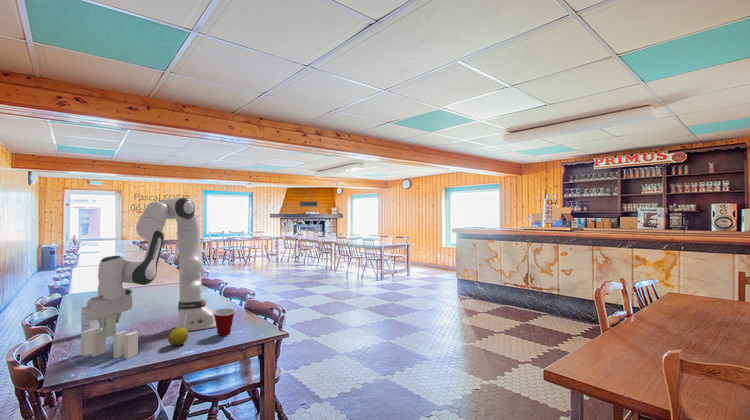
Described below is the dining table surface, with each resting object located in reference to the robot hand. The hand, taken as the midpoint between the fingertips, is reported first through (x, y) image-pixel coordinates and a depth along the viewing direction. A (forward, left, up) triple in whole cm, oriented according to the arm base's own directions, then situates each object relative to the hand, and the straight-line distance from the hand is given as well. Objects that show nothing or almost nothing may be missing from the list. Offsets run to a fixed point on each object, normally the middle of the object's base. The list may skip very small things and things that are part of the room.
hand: (109, 325), depth 159 cm
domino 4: (-5, +2, -13) cm, 14 cm away
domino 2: (+5, -2, -13) cm, 14 cm away
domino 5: (-10, +5, -13) cm, 17 cm away
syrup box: (+22, -37, -13) cm, 45 cm away
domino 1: (+10, -5, -13) cm, 17 cm away
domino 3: (0, 0, -5) cm, 5 cm away
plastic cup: (-45, -17, -13) cm, 49 cm away
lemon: (-26, -6, -13) cm, 29 cm away
